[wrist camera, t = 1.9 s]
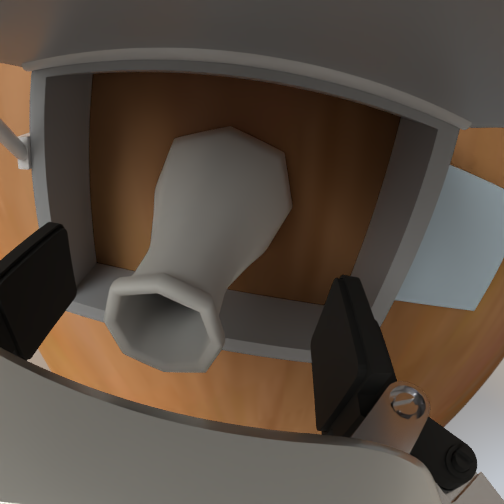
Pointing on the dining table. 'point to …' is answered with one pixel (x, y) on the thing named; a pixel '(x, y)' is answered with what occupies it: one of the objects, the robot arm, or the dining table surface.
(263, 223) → the flask
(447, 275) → the mat
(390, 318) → the dining table surface
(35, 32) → the lid and stay
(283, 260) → the dining table surface
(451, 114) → the case
